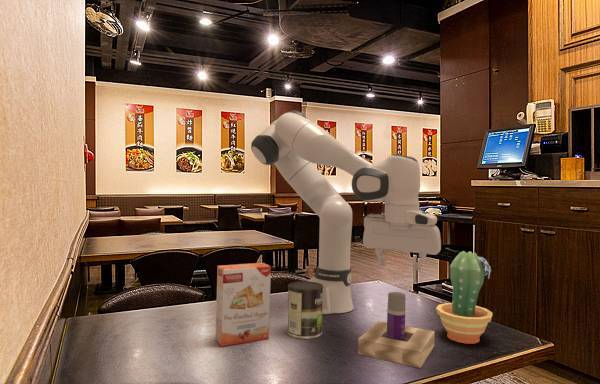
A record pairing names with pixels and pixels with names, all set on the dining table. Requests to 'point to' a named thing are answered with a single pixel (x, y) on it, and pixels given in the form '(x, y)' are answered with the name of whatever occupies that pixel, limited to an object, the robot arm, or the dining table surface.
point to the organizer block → (397, 345)
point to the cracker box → (242, 303)
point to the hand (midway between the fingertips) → (399, 267)
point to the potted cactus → (466, 299)
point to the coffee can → (305, 309)
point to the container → (396, 316)
